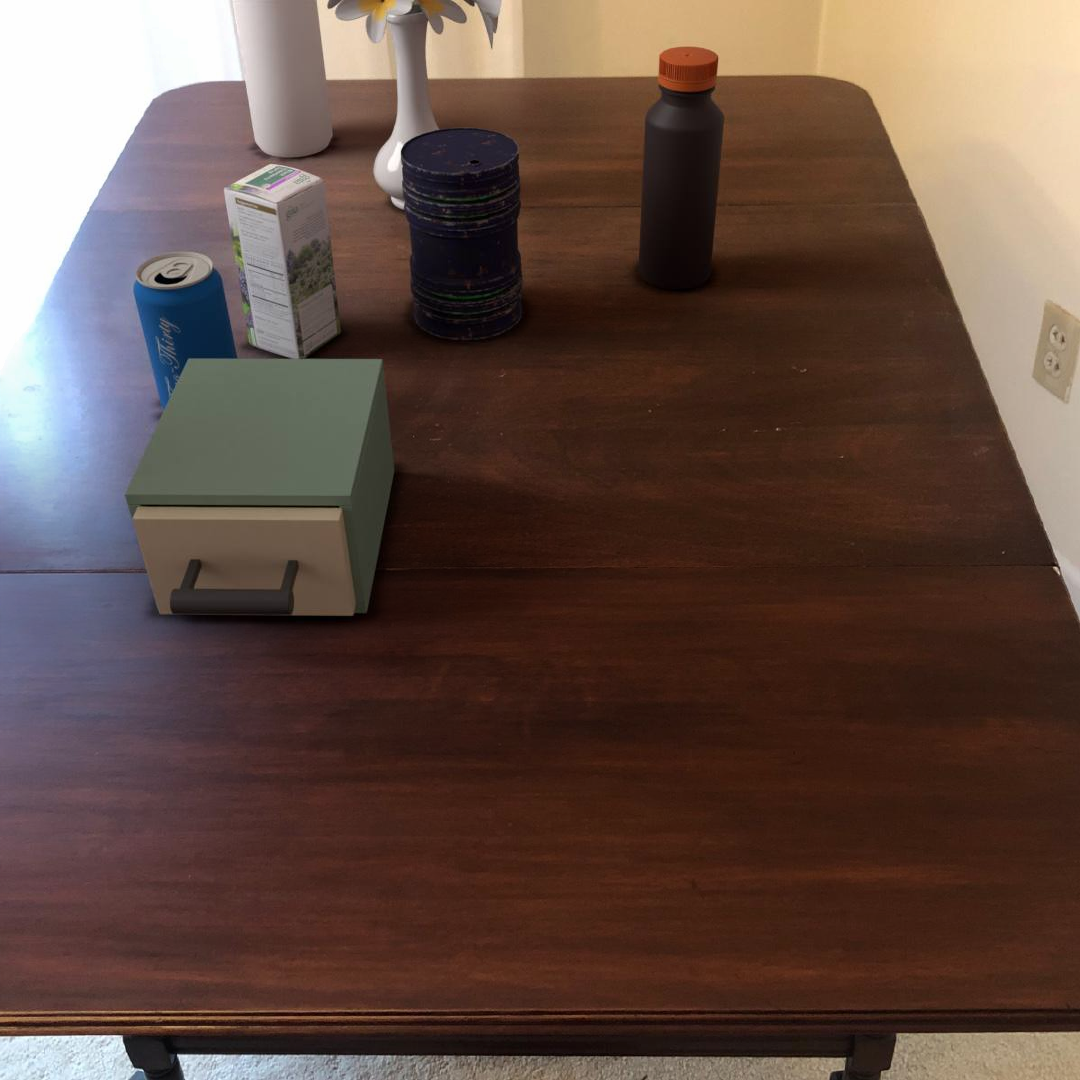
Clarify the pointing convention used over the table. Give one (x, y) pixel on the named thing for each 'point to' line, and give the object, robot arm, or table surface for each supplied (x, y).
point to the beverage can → (181, 315)
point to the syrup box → (284, 260)
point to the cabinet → (277, 445)
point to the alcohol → (284, 75)
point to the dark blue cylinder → (463, 231)
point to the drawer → (247, 559)
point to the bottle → (681, 171)
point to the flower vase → (409, 67)
